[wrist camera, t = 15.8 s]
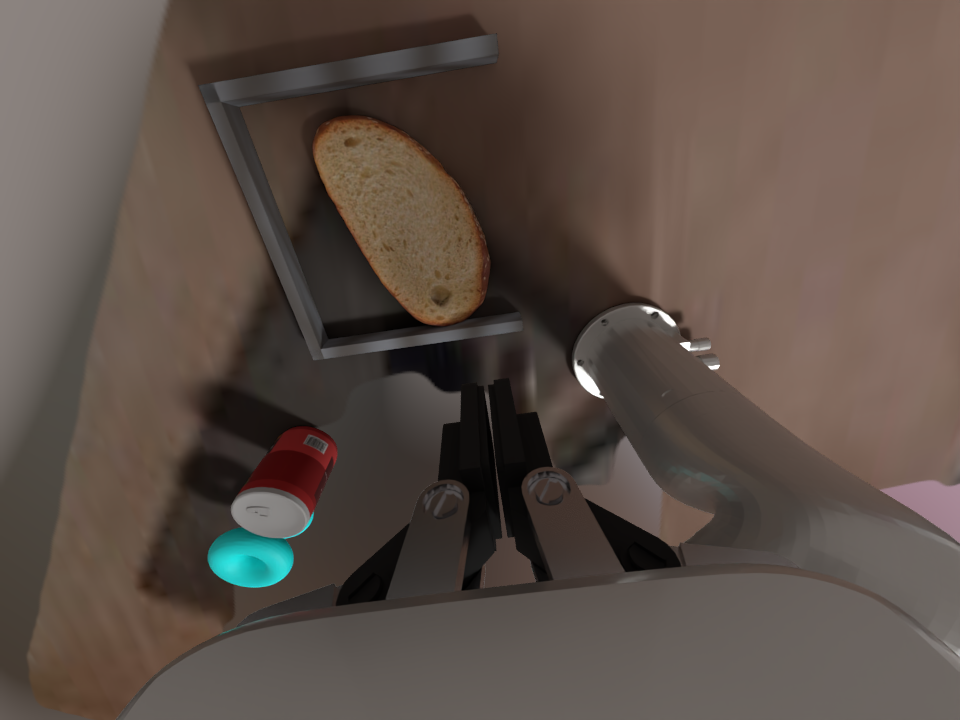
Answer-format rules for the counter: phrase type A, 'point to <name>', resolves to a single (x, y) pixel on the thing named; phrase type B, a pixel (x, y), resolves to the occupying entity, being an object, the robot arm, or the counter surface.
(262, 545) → the donuts
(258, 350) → the counter surface
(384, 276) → the bread slice
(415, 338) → the corral
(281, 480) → the canned food
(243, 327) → the counter surface
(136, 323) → the counter surface
